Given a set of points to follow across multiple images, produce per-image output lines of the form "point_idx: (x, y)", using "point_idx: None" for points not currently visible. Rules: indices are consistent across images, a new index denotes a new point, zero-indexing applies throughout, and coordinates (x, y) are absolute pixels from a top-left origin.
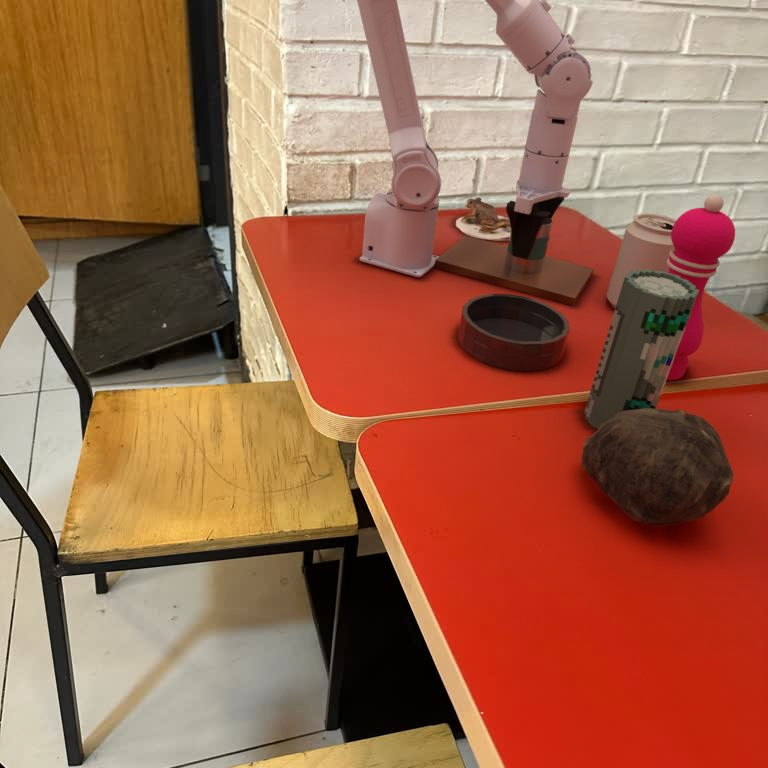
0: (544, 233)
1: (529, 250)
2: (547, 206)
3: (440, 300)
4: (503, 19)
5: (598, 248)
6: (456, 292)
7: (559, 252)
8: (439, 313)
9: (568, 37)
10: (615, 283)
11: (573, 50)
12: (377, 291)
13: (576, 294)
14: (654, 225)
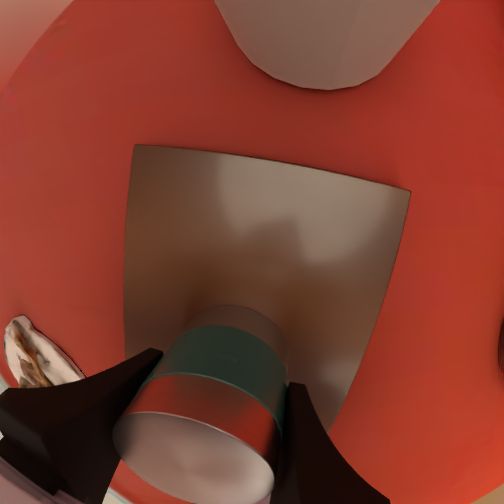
0: (252, 411)
1: (311, 402)
2: (83, 445)
3: (436, 440)
4: None
5: (5, 166)
6: (401, 434)
7: (54, 248)
8: (478, 425)
9: None
10: (381, 60)
11: None
12: (414, 491)
13: (384, 186)
14: None
